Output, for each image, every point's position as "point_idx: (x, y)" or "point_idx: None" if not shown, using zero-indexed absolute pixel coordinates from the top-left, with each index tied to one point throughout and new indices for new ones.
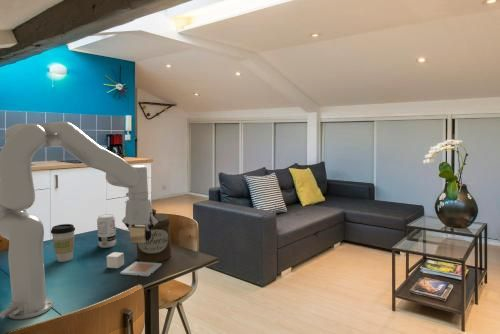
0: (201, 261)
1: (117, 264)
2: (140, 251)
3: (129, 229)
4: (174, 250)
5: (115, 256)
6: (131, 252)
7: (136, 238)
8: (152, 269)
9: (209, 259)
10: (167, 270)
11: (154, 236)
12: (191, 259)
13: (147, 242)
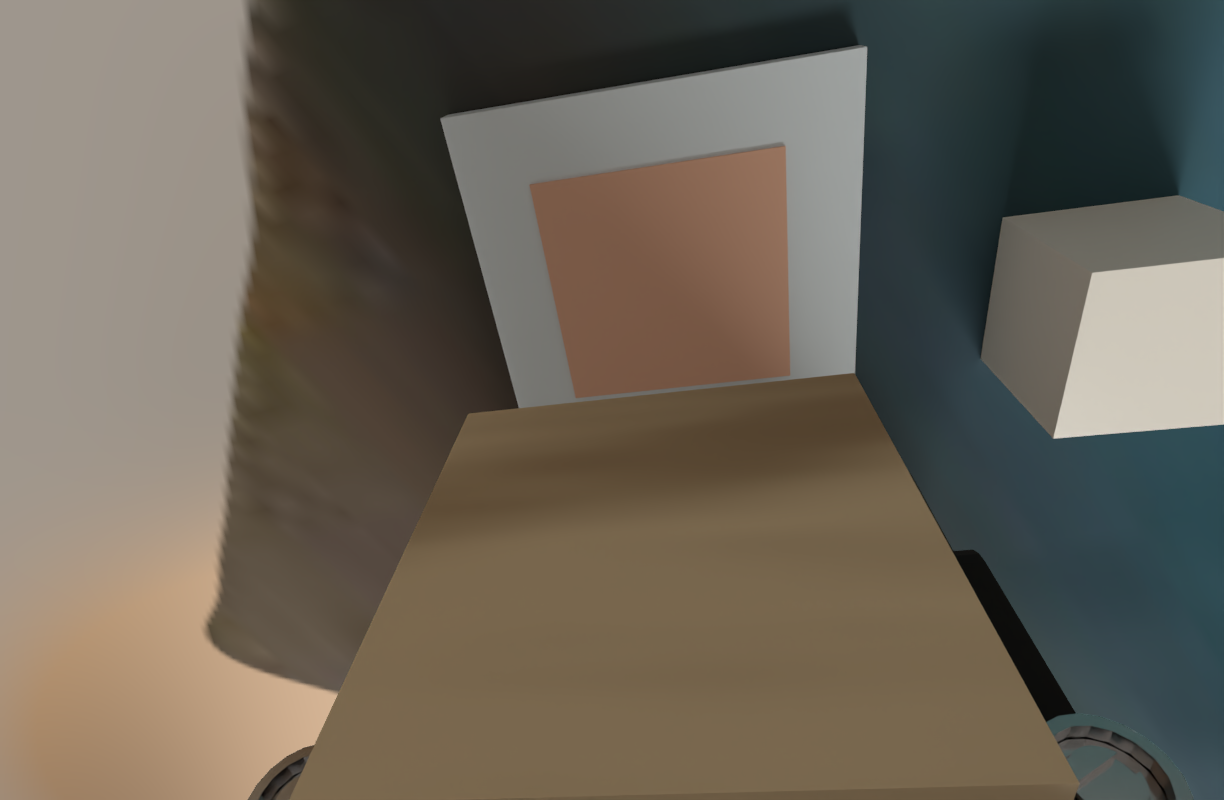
0: (258, 590)
1: (1032, 232)
2: None
3: (1095, 748)
4: None
5: (1136, 281)
6: (1046, 620)
7: (670, 458)
8: (501, 276)
9: (235, 634)
10: (374, 341)
11: None
12: (370, 606)
13: None
